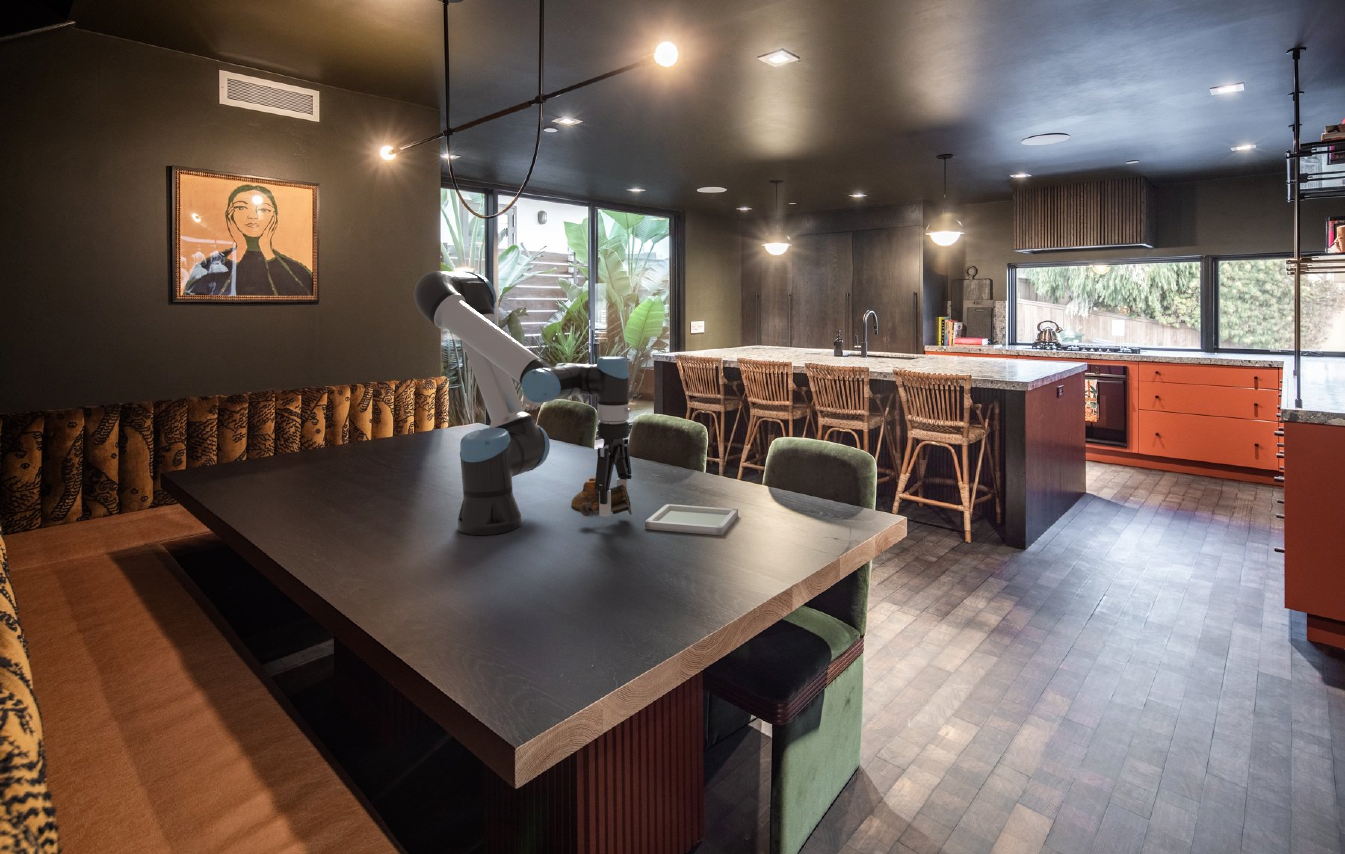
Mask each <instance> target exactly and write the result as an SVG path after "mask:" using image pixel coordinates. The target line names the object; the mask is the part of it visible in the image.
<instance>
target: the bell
mask: <svg viewBox="0 0 1345 854" xmlns="http://www.w3.org/2000/svg"><path fill="white" fill-rule="evenodd" d="M595 478H596V477H590V478H589V479H588V481H585V482H584V483H583V485H582V486H583V487H582V490H581V491H580V492H578V493H577V494H575V496H573V498H572V500H571V503H570V504H571V506H572V508H574V509H575V510H579V511H580V506H581V505H582V503H586V504H587V505H590V503H591V501H592V500H593V499H595V498H596V497H598V496H599V490H595ZM592 508H593V509H595V510H599V500H598V501H596V502H595V503H594V504H593V506H592Z"/></svg>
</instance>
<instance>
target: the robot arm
mask: <svg viewBox="0 0 1345 854" xmlns="http://www.w3.org/2000/svg"><path fill="white" fill-rule="evenodd" d="M496 293H497V292H496V290H495V287H494V285H493V284H492V283H491V281H490V280H489V279H488V278H487V277H485V276H483V275H481V274H478V273H475V272H471V271H446V270H433V271H430V272H428V273H426V274H424V275H423V276H421V277H420V278H419V279H418V281H417V283H416V284H415V287H414V290H413V298H414V303H415V306H416V308H417V310H418V311H419V313H420V314H421V315H422V316H423V317H425V319H426V320H428V321H429V322H430V323H431V324H432V325H434V326H435V327H437V328H438V329H441V330H446V329H447V330H448V331H450V332H451V333H452V334H453V335H455V336H456V337H457V338H458V339H460V340H461V344H462V345H463V348H464V350H465V353H466V356H467V359H468V361H469V364H470V367H471V369H472V373H473V375H474V377H475V381H476V383H477V386H478V389H479V391H480V394H481V397H482V400H483V402H484V405H485V406H484V407H486V411H487V414H488V416H489V419H490V424H489V427H487V428H483V429H477V430H473V431H470V432H469V433H467V434H465V435H464V436H463V437H462V438H461V439H460V442H459V443H460V444H459V445H460V446H459V457H460V469H461V480H462V493H463V494H462V495H463V498H462V502H461V505H460V510H459V514H458V518H457V529H458V532H460V533H462V534H464V535H465V534H466V535H471V536H472V535H473V536H490V535H491V536H492V535H497V534H498V535H499V534H505V533H507V532H510V531H514V530H516V529H518V528H520V526H522V523H523V522H522V513H521V512H520V509H519V506H518V503H517V501H516V498H515V495H514V493H513V477H515V476H518V475H521V474H523V473H526V472H527V473H528V472H530V471H533V470H535V469H536V468H539V467H540V466H541V465H542V464H543V463H544V462H545V461H546V460H547V458H548V456H549V454H550V450H551V449H550V446H551V445H550V444H551V443H550V439H549V436H548V433H547V432H546V431H545V429H544V428H543V427H541V426H540V425H538V424H535V422H534V419H533V416H532V414H530V413H528V412H526V411H524V409H523V407H522V404H521V401H520V398H519V395H518V393H517V390H516V387H515V384H514V381H513V380H515V381H516V382H517V383H519V384H520V385H521V390H522V392H523V394H524V396H525V397H526V399H528V401H531V402H533V403H537V404H538V403H549V402H552V401H556V400H559V399H564V398H568V397H573V396H582V395H583V396H594V397H595V396H597V398H596V399H597V420H598V423H597V437H598V438H599V439H603V445H602V447H597V451H596V452H597V460H596V461H597V462H596V469H595V477H594V478H595V490H599V514H598V516H599V517H602V518H603V517H605V518H611V517H612V512H611V490H609V489H610V487H611V486H610V485H611V482H612V476H613V470H614V466H615V471H616V474H617V477H618V478H616V487H617V486H620V485H624V486H625V487H626V490H627V493H628V492H629V490H628V488H629V484H628V483H629V481H628V480H632V467H631V466H632V465H631V455H630V449H629V446H630V444H629V443H630V440H629V438H628V437H629V436H630V423H629V421H628V420H629V419H630V412H631V408H629V407H630V402H629V401H630V400H629V395H630V394H629V393H630V391H629V389H630V387H629V386H630V385H629V384H630V372H629V371H630V370H629V360H628V359H627V357H624V356H611V355H610V356H608V355H607V356H599V357H598V358H597V360H596V364H595V363H594V364H590V363H589V364H587V363H586V364H585V363H573V362H560V363H556V364H554V366H552V365H550V364H549V363H547V362H546V361H545V360H543V359H542V358H541V357H539V356H538V355H536V353H534V352H533V351H531V350H529V349H528V348H527V347H525V346H524V345H523V344H521V343H520V342H519V341H518V340H516V339H515V338H513V337H512V336H511V335H509V334H508V333H507V332H505V331H504V330H503V329H501V328H500V327H498V326H497V325H496V324H494V321H495V318H496V314H495V311H494V310H495V308H496V303H497V294H496ZM512 378H513V379H512ZM628 494H629V493H628Z"/></svg>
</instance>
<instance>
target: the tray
mask: <svg viewBox="0 0 1345 854" xmlns="http://www.w3.org/2000/svg"><path fill="white" fill-rule="evenodd" d="M738 517H739V508H726V507H712V506H711V507H710V506H702V505H701V506H700V505H699V506H698V505H688V504H687V505H684V504H670V503H666V504H664V505H663V506H662V507H661V508H659V510H657V511H656V512H655V513H653V514H652V515H651V516H650V517H648V518H647V519H646V520H645V521H644V529H645V530H655V531H665V532H678V533H689V534H700V535H701V534H702V535H713V536H723V535H724V534H725V532H726V531H727V530H728V529H729V528H730V527H731V525H732V524H733V523H734V522H735V520H736V519H737V518H738Z"/></svg>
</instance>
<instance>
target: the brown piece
mask: <svg viewBox="0 0 1345 854" xmlns="http://www.w3.org/2000/svg"><path fill="white" fill-rule="evenodd" d="M609 490H611V513H612V514H613V515H617V514H619V513H623V512H626V511H628V514H629V515H630V516H631V515H632V514H633V512H632V508H631V501H630V496H629V493H627V490H626V487H625V486H624V485H620V486H617V485H616V486H613V487H611V488H610V487H609ZM598 500H599V496H598V497H596V498H595V499H593V500H592V501H591V503H590V505H587V504H586V503H582V505H581V506H580V510H579V511H580V514H581V515H582V516H585V517H588V516H590V512H591V513H593V514H596V515H599V510H595V509H593V508H592V506H593V504H594V503H595V502H596V501H598Z"/></svg>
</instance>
